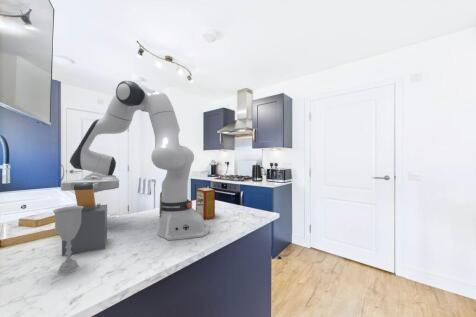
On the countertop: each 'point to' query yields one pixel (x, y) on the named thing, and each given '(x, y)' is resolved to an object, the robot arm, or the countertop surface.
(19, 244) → the countertop surface
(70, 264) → the chalice
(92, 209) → the box
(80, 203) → the lever
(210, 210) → the baking soda box
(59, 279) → the countertop surface
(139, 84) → the robot arm
